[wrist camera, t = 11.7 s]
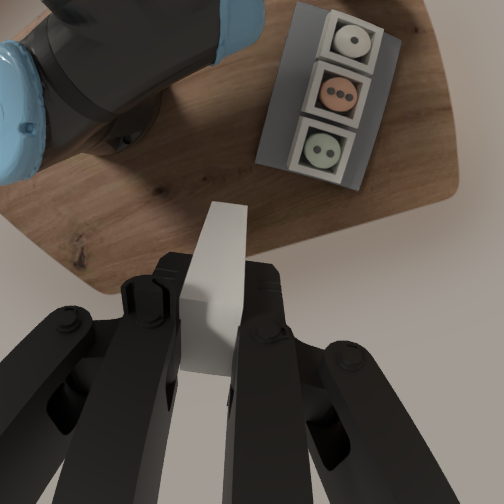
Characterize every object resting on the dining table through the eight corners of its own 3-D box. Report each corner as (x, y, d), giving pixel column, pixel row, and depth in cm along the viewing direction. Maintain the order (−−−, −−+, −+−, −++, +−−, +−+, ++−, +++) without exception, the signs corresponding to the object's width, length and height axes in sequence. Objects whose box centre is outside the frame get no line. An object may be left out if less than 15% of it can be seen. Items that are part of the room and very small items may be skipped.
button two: (298, 158, 36) (302, 163, 33) (307, 127, 34) (311, 130, 31) (328, 167, 36) (335, 172, 33) (338, 137, 34) (345, 140, 32)
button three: (313, 104, 33) (318, 105, 30) (321, 74, 31) (327, 72, 28) (344, 114, 33) (352, 116, 30) (352, 85, 31) (361, 84, 28)
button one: (327, 52, 29) (334, 48, 27) (334, 25, 28) (341, 19, 25) (358, 63, 30) (367, 61, 27) (365, 37, 28) (374, 32, 25)
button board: (254, 160, 38) (254, 168, 34) (296, 4, 28) (300, -7, 24) (355, 188, 39) (365, 198, 35) (397, 42, 29) (412, 37, 25)
